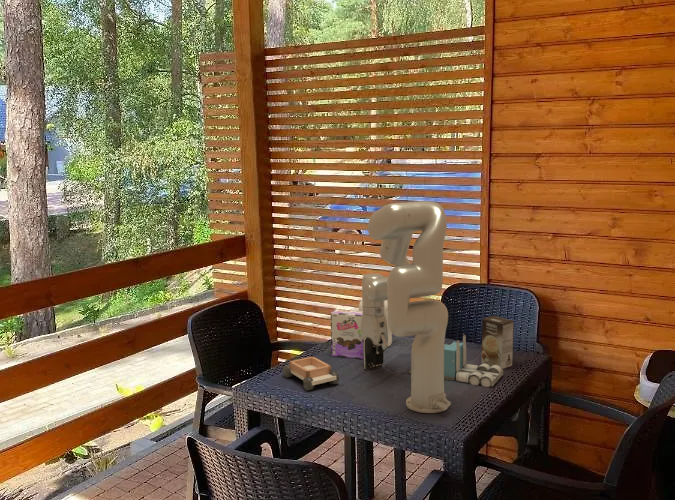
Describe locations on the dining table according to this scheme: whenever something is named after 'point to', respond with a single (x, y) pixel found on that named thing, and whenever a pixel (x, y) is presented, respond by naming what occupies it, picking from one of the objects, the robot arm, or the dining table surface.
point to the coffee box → (497, 341)
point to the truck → (467, 367)
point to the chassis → (311, 372)
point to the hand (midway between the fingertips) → (374, 361)
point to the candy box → (346, 334)
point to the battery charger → (369, 354)
